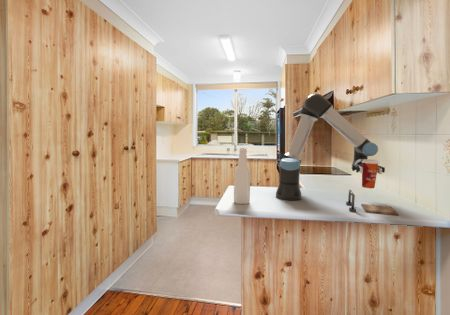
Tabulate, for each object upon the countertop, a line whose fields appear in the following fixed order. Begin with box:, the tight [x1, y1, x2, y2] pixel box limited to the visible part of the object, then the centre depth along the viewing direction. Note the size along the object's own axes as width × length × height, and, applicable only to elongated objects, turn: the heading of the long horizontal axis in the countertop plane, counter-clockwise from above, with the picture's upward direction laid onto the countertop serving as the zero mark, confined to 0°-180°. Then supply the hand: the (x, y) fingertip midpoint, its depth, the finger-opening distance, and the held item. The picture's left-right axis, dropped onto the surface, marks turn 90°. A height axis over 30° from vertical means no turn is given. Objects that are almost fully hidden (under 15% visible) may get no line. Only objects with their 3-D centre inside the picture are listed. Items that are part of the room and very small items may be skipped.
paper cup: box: [361, 159, 380, 189], centre depth 129 cm, size 8×8×14 cm
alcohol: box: [233, 147, 251, 205], centre depth 138 cm, size 9×9×30 cm
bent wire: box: [345, 189, 357, 213], centre depth 133 cm, size 3×16×8 cm, turn 160°
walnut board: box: [360, 203, 400, 216], centre depth 129 cm, size 14×13×1 cm
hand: (371, 170), depth 125 cm, fingers closed on paper cup, 8 cm apart
